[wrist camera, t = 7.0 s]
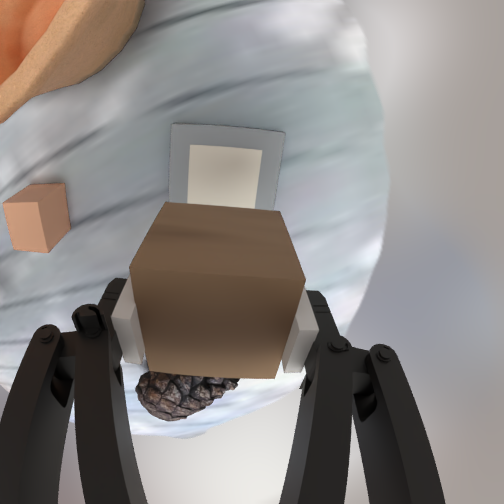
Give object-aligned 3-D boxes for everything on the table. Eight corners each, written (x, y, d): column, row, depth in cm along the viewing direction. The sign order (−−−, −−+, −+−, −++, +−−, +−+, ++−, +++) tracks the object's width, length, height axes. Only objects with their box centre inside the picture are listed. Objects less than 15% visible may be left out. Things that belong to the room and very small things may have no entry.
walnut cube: (263, 299, 18) (274, 378, 12) (168, 292, 17) (149, 370, 12) (279, 211, 15) (306, 279, 9) (165, 202, 14) (129, 266, 9)
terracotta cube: (71, 228, 29) (48, 253, 24) (37, 226, 29) (13, 249, 24) (64, 182, 26) (37, 202, 21) (30, 184, 26) (2, 202, 21)
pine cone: (247, 360, 44) (252, 412, 36) (170, 389, 48) (166, 433, 39) (209, 326, 39) (206, 384, 31) (131, 361, 43) (119, 409, 35)
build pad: (268, 229, 32) (269, 233, 31) (170, 222, 30) (168, 226, 29) (283, 132, 26) (285, 133, 25) (173, 123, 25) (171, 124, 24)
